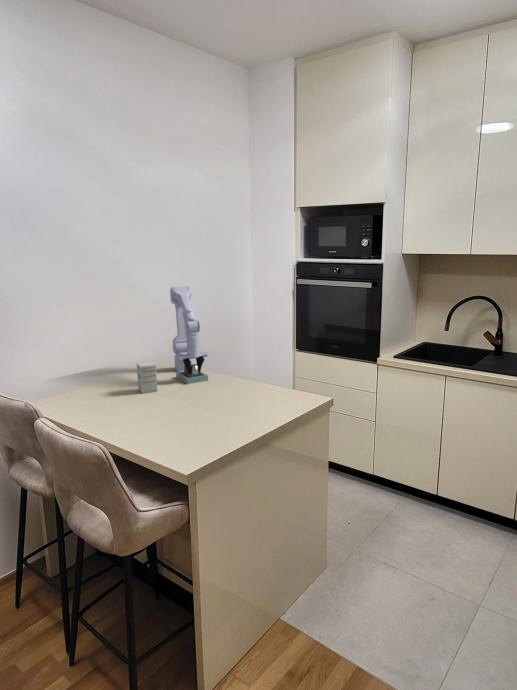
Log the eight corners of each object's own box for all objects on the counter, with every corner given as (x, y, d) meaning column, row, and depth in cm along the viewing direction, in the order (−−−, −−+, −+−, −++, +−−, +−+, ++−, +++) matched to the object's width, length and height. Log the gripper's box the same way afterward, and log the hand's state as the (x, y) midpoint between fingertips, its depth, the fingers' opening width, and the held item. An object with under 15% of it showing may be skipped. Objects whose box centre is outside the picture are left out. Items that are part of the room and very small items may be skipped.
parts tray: (176, 377, 237) (175, 372, 236) (196, 374, 242) (196, 369, 242) (187, 384, 225) (186, 378, 225) (208, 380, 231) (208, 375, 230)
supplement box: (138, 389, 218) (136, 362, 215) (154, 387, 221) (152, 361, 218) (141, 393, 211) (139, 366, 209) (157, 391, 214) (156, 364, 212)
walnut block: (184, 376, 237) (183, 364, 235) (191, 375, 239) (191, 363, 237) (187, 378, 233) (187, 366, 232) (195, 376, 235) (194, 365, 234)
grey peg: (189, 378, 232) (188, 364, 230) (196, 377, 234) (196, 363, 232) (192, 380, 228) (191, 366, 227) (199, 379, 230) (199, 365, 229)
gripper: (181, 348, 221) (183, 377, 223) (210, 345, 228) (211, 372, 231) (176, 346, 227) (177, 373, 229) (203, 342, 234) (205, 369, 237)
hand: (194, 373), depth 230 cm, fingers open, 4 cm apart
